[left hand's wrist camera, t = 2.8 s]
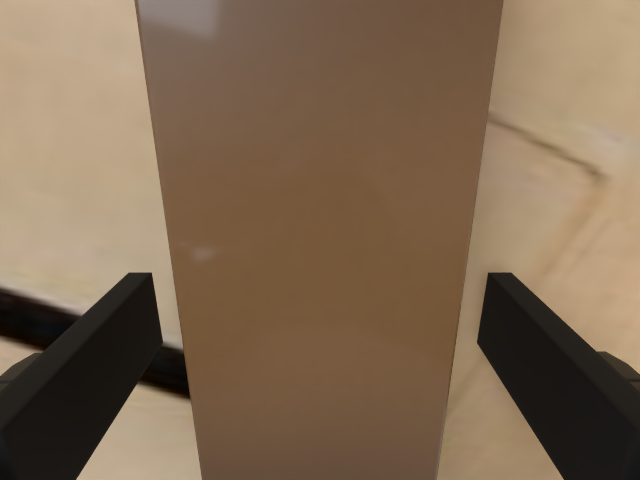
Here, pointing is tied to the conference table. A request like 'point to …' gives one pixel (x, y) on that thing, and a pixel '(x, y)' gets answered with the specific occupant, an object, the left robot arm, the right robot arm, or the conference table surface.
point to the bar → (319, 222)
